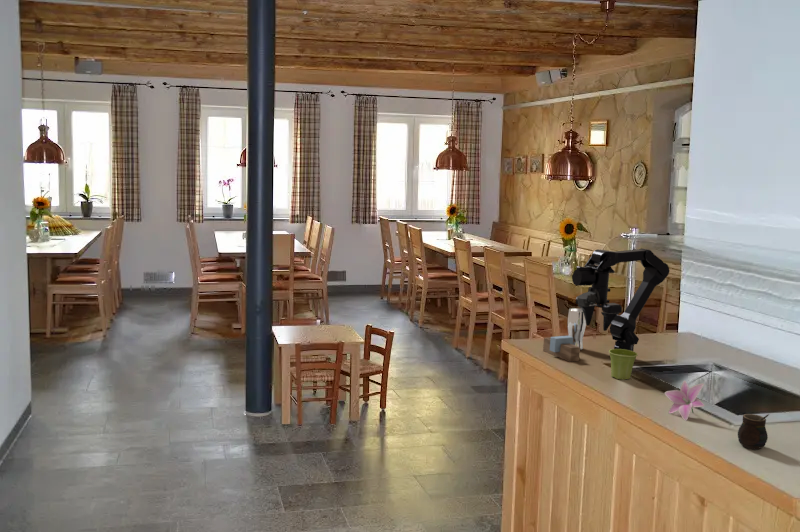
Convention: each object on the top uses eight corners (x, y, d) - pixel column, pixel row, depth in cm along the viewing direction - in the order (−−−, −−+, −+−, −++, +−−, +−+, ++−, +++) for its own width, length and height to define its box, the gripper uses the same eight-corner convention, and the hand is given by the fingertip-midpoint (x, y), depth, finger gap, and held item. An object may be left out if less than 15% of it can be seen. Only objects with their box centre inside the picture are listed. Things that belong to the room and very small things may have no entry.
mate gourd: (744, 439, 215) (748, 403, 214) (772, 448, 210) (777, 411, 208) (731, 445, 211) (735, 408, 209) (759, 454, 205) (763, 416, 204)
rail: (551, 350, 305) (552, 337, 304) (578, 360, 291) (579, 347, 290) (542, 350, 303) (543, 337, 302) (569, 361, 289) (571, 348, 288)
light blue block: (567, 348, 299) (568, 335, 299) (572, 350, 297) (573, 337, 296) (549, 350, 296) (550, 336, 295) (554, 352, 293) (555, 338, 293)
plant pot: (635, 375, 274) (637, 350, 273) (635, 382, 265) (637, 357, 264) (606, 372, 277) (609, 347, 276) (606, 379, 268) (608, 353, 267)
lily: (661, 409, 242) (656, 385, 237) (698, 396, 241) (694, 371, 237) (679, 434, 231) (674, 410, 226) (718, 420, 231) (713, 395, 226)
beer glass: (587, 349, 308) (590, 311, 306) (572, 350, 305) (575, 311, 303) (577, 345, 314) (580, 307, 312) (562, 346, 311) (565, 308, 309)
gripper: (565, 281, 293) (562, 323, 295) (599, 290, 277) (595, 335, 279) (589, 280, 298) (586, 322, 300) (624, 289, 282) (620, 333, 284)
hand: (596, 327), depth 291 cm, fingers open, 9 cm apart
